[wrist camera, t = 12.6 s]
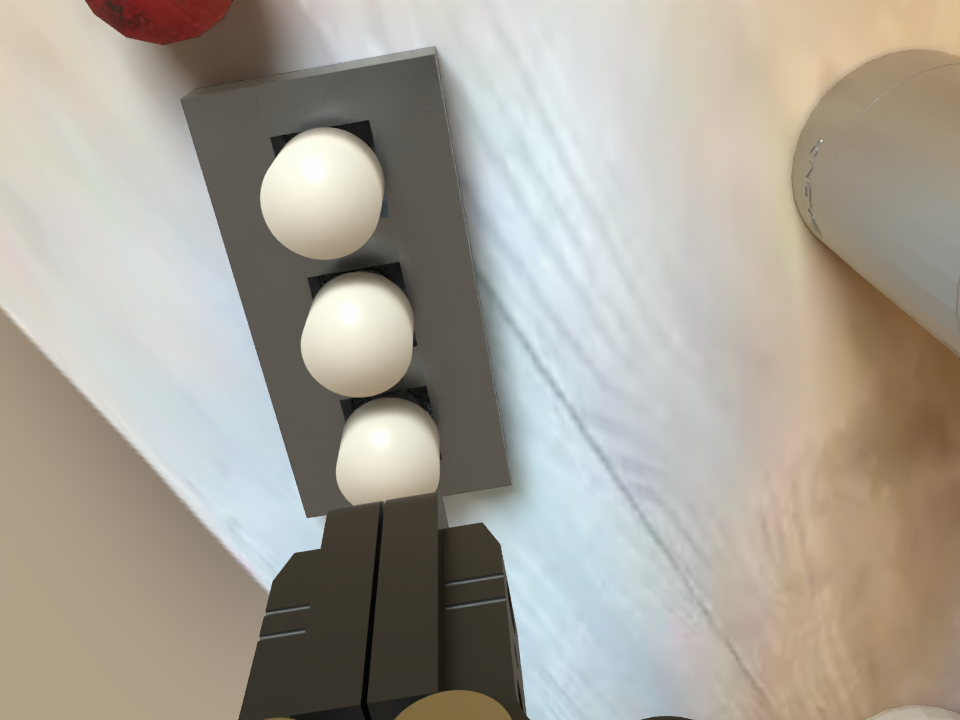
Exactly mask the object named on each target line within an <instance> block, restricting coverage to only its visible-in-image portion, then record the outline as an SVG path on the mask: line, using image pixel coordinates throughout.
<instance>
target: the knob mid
mask: <svg viewBox="0 0 960 720" xmlns="http://www.w3.org/2000/svg"><path fill="white" fill-rule="evenodd" d="M413 331H414V315H413V310H412V307H411V304H410V302H409V300H408V298H407V296H406V295H405V294H404V292H403V291H402V290H401V289H400V288H399V287H398V286H397V285H396V284H395V283H393V282H392V281H390V280H389V279H387V278H386V277H385V276H383V275H382V274H380V273H379V272H376V271H373V270H359V271H356V272H350V273H346V274H343V275H340V276H337V277H335V278H333V279H332V280H330V281H329V282H327V283H326V284H325V285H324V286H323V287H322V288H321V289H320V290H319V292H318V293H317V294H316V296H315V298H314V300H313V302H312V305H311V308H310V311H309V314H308V317H307V320H306V324H305V327H304V330H303V333H302V337H301V353H302V358H303V360H304V363H305V365H306V367H307V369H308V371H309V372H310V374H311V375H312V376H313V377H314V378H315V380H316V381H317V382H319V383H320V384H321V385H322V386H324V387H325V388H327V389H328V390H330V391H332V392H335V393H337V394H340V395H344V396H348V397H369V396H374V395H377V394H380V393H383V392H384V391H386V390H388V389H390V388H391V387H393V386H394V385H395V384H396V383H398V382H399V381H400V380H401V378H402V377H403V376H404V374H405V373H406V371H407V369H408V367H409V365H410V362H411V358H412V348H413Z"/></svg>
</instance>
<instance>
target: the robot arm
mask: <svg viewBox="0 0 960 720" xmlns="http://www.w3.org/2000/svg"><path fill="white" fill-rule="evenodd" d="M792 183H793V191H794V199H795V202H796V204H797V207H798V210H799V212H800V215H801V218H802V219H803V221H804V222H805V223H806V225H807V226H808V228H809V229H810V231H811V232H812V233H813V234H814V235H815V236H816V237H817V238H818V239H819V240H821V241H822V242H823V243H824V244H825V245H826V246H827V247H829V248H830V249H831V250H832V251H833V252H834V253H836V254H837V255H838V256H839V257H840V258H841V259H843V260H844V261H845V262H846V263H847V264H848V265H850V266H851V267H852V268H853V269H854V270H855V271H856V272H857V273H859V274H860V275H861V276H862V277H863V278H864V279H866V280H867V281H868V282H869V283H870V284H872V285H873V286H874V287H875V288H876V289H878V290H879V291H880V292H881V293H882V294H884V295H885V296H886V297H887V298H888V299H890V300H891V301H892V302H893V303H894V304H895V305H897V306H898V307H899V308H900V309H901V310H903V311H904V312H905V313H906V314H907V315H909V316H910V317H911V318H912V319H913V320H915V321H916V322H917V323H918V324H919V325H921V326H922V327H923V328H924V329H925V330H927V331H928V332H929V333H930V334H931V335H932V336H934V337H935V338H936V339H937V340H938V341H940V342H941V343H942V344H943V345H944V346H946V347H947V348H948V349H949V350H950V351H952V352H953V353H954V354H955V355H956V356H958V357H959V358H960V57H957V56H954V55H950V54H946V53H942V52H938V51H928V50H909V51H903V52H897V53H891V54H888V55H885V56H883V57H880V58H877V59H875V60H872V61H870V62H867V63H866V64H864V65H862V66H861V67H859V68H857V69H856V70H854V71H853V72H851V73H849V74H848V75H846V76H845V77H844V78H843V79H842V80H841V81H839V82H838V83H837V84H836V85H835V86H834V87H833V88H832V89H831V90H829V91H828V92H827V93H826V95H825V96H824V97H823V99H822V100H821V101H820V102H819V104H818V105H817V106H816V108H815V109H814V110H813V111H812V113H811V115H810V117H809V119H808V121H807V123H806V124H805V126H804V128H803V130H802V132H801V134H800V138H799V141H798V144H797V147H796V151H795V154H794V160H793V171H792ZM238 720H530V719H529V718H528V717H527V715H526V706H525V697H524V690H523V680H522V671H521V664H520V653H519V644H518V635H517V629H516V623H515V618H514V613H513V608H512V602H511V597H510V592H509V587H508V581H507V576H506V571H505V566H504V561H503V555H502V550H501V545H500V543H499V542H498V541H497V540H496V538H495V537H494V536H493V535H492V534H491V532H490V531H489V530H488V529H487V528H486V526H485V525H484V524H483V523H476V524H470V525H464V526H458V527H452V528H449V526H448V522H447V517H446V513H445V508H444V504H443V500H442V497H441V494H440V492H433V493H427V494H421V495H414V496H408V497H402V498H396V499H390V500H386V502H385V503H384V502H383V501H379V502H373V503H366V504H360V505H354V506H348V507H342V508H336V509H330V510H329V511H328V513H327V517H326V522H325V528H324V533H323V539H322V544H321V549H316V550H310V551H304V552H298V553H294V554H293V556H292V557H291V558H290V560H289V561H288V562H287V563H286V565H285V566H284V567H283V569H282V570H281V571H280V572H279V574H278V575H277V576H276V578H275V579H274V580H273V583H272V587H271V591H270V595H269V599H268V603H267V607H266V616H264V619H263V623H262V627H261V631H260V641H258V643H257V647H256V651H255V656H254V659H253V663H252V667H251V671H250V675H249V679H248V683H247V688H246V691H245V696H244V699H243V704H242V707H241V711H240V715H239V719H238ZM642 720H692V719H687V718H683V717H674V716H658V717H651V718H646V719H642Z"/></svg>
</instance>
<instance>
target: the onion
mask: <svg viewBox="0 0 960 720" xmlns="http://www.w3.org/2000/svg"><path fill="white" fill-rule="evenodd" d="M85 1H86V3H87V4H88V6H89V7H90V9H91V10H92V12H93V13H94V14H95V15H96V16H97V17H99V18H100V19H102V20H103V21H104V22H106V23H107V24H109V25H110V26H111V27H113V28H114V29H116V30H117V31H118V32H120V33H121V34H123V35H124V36H125V37H127V38H132V39H137V40H141V41H146V42H151V43H155V44H160V45H166V44H170V43H174V42H179V41H183V40H187V39H191V38H196V37H199V36H200V35H202V34H203V33H204V32H206V31H207V30H208V29H210V28H211V27H212V26H214V25H215V24H217V23H218V22H219V21H221V20H222V19H223V18H224V16H225V14H226V12H227V10H228V8H229V7H230V5H231V3H232V1H233V0H85Z"/></svg>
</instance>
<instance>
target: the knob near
mask: <svg viewBox="0 0 960 720" xmlns="http://www.w3.org/2000/svg"><path fill="white" fill-rule="evenodd" d="M384 189H385V181H384V174H383V170H382V167H381V165H380V162H379V160H378V158H377V157H376V155H375V153H374V152H373V151H372V149H371V148H370V147H369V146H368V145H367V144H366V143H365V142H364V141H362V140H361V139H360V138H359V137H357V136H355V135H354V134H352V133H349V132H347V131H345V130H341V129H337V128H331V127H320V128H314V129H310V130H307V131H304V132H302V133H300V134H298V135H296V136H295V137H293V138H292V139H291V140H290V141H289V142H288V143H287V144H286V145H285V146H284V147H283V148H282V150H281V151H280V153H279V154H278V156H277V157H276V159H275V160H274V161H273V163H272V164H271V166H270V167H269V169H268V171H267V173H266V174H265V177H264V179H263V182H262V187H261V193H260V202H261V209H262V214H263V217H264V219H265V222H266V224H267V226H268V228H269V229H270V231H271V232H272V234H273V235H274V236H275V237H276V238H277V240H278V241H279V242H281V243H282V244H283V245H284V246H285V247H287V248H288V249H289V250H291V251H293V252H295V253H297V254H299V255H302V256H304V257H308V258H311V259H318V260H330V259H337V258H341V257H344V256H347V255H349V254H351V253H353V252H355V251H356V250H358V249H359V248H360V247H362V246H363V245H364V244H365V243H366V242H367V241H368V239H369V238H370V237H371V236H372V234H373V232H374V231H375V229H376V226H377V224H378V221H379V217H380V212H381V207H382V202H383V197H384Z"/></svg>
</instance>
